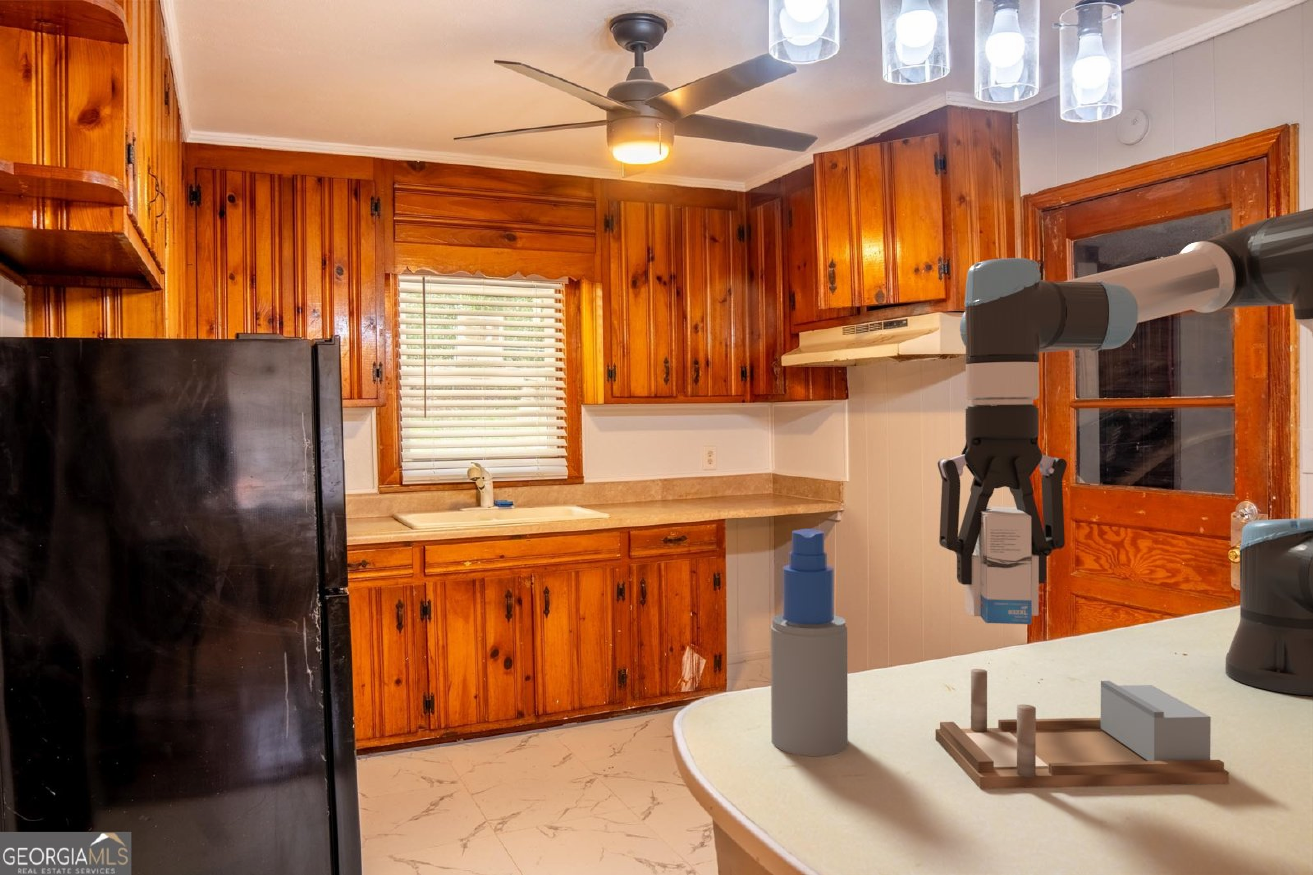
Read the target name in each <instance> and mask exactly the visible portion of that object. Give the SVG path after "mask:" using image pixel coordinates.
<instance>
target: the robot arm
mask: <svg viewBox="0 0 1313 875" xmlns="http://www.w3.org/2000/svg"><path fill="white" fill-rule="evenodd" d="M1284 305H1285V306H1287V305H1292V306H1293V314H1294V322H1296V323H1297V324H1300V325H1301V326H1303V327H1304V328H1306V329H1307V330H1309V331H1310V332H1311V333H1312V334H1311V335H1312V337H1313V208H1309V209H1303V210H1300V211H1295V212H1291V213H1287V214H1283V215H1278V216H1272V217H1269V218H1264V219H1262V220H1258V221H1256V222H1254V223H1253V222H1252V223H1250V224H1247V225H1244V226H1241V227H1240V228H1237V229H1234V230H1232V231H1229V232H1226V233H1223V234H1220V235H1216V236H1214V237H1211V238H1208V239H1205V240H1200V241H1196V242H1193V243H1190V244H1188V245H1186V246H1185V247H1184V248H1183V249H1182V250H1181V251H1180V252H1179V253H1177V254H1174V255H1170V256H1165V257H1161V258H1158V259H1151V260H1148V261H1144V262H1140V263H1137V264H1136V263H1135V264H1132V265H1128V266H1122V267H1118V268H1114V269H1111V270H1106V271H1101V272H1098V273H1094V274H1089V275H1085V276H1081V277H1077V278H1072V279H1068V280H1064V281H1050V280H1043V279H1042V276H1041V274H1040V266H1039V263H1038V262H1037V261H1036V260H1034V259H1028V258H1024V257H1010V258H1009V257H1006V258H1005V257H1004V258H994V259H988V260H983V261H978V262H976V263H975V264H973V265H971V267H969V269H968V271H967V275H966V282H965V298H964V303H963V306H964V312H963V314H962V317H961V319H960V323H959V332H960V338H961V341H962V342H963V343H962V344H963V345H964V346H965V398H966V399H967V400H968V401H971V405H967V408H965V445H964V447H963V449H962V451H961V455H957V456H954V457H951V458H947V459H946V458H941V459H939V460H938V462H937V468H938V470H939V474H940V478H941V497H940V517H939V518H940V520H939V538H938V539H939V545H940V546H941V547H942V548H944V549H947V550H948V551H951V552H954V553H955V554H956V579H957V582H958V583H959V584H961V585H964V611H965V613H967V614H969V615H971V616H972V617H981V557H980V556H978V555H975V554H974V550H975V546H976V543H977V539H978V536H979V533H980V529H981V516H982V513H981V511H986V509H987V506H988V505H989V501H990V498H991V497H992V496H993V494H994V491H995V489H1000V488H1008V489H1009V492H1010V493H1011V495H1012V496H1013V500H1014V503H1015V507H1017V510H1021V511H1023V512H1025V513H1026V514H1028V515H1030V516H1031V594H1032V616H1035V617H1036V616H1039V607H1040V606H1039V602H1040V601H1039V598H1040V596H1039V592H1040V590H1039V589H1040V587H1039V585H1040V584H1045V583H1046V581H1047V557H1049V556H1050V555H1051V554H1052V552H1053V551H1055V550H1057V549H1058V550H1061V549H1063V548H1064V547H1065V544H1066V538H1065V536H1066V535H1065V518H1064V517H1065V516H1064V515H1065V514H1064V490H1063V479H1064V476H1065V473H1066V470H1067V466H1068V462H1067V460H1066V459H1064V458H1061V457H1060V458H1058V457H1051V456H1049V455H1045V454H1043V452H1042V450H1041V449H1040V446H1039V440H1038V439H1039V436H1040V435H1039V434H1040V433H1039V432H1040V428H1039V427H1040V422H1039V421H1040V419H1039V418H1040V413H1039V412H1040V407H1039V408H1038V405H1036V404H1034V400H1037V399H1038V398H1039V397H1040V365H1039V364H1040V363H1039V362H1040V354H1041V353H1053V352H1064V351H1082V350H1083V351H1084V350H1090V351H1092V352H1094V351H1095V352H1096V351H1101V350H1113V349H1116V348H1120V347H1122V346H1123V345H1125V344H1126V343H1127V342H1128V341H1129V340H1130V339H1131V338H1132V336H1133V334H1134V333H1135V331H1136V328H1137V325H1138V324H1139V323H1143V322H1147V321H1150V320H1151V321H1152V320H1155V319H1157V318H1158V319H1159V318H1162V317H1167V316H1171V315H1175V314H1179V313H1182V312H1186V311H1191V310H1192V311H1194V312H1198V313H1202V314H1203V313H1204V314H1206V313H1207V314H1208V313H1212V312H1213V313H1214V312H1217V311H1222V310H1226V309H1227V310H1228V309H1237V308H1248V307H1249V308H1252V307H1272V306H1284ZM1038 466H1039V472H1040V474H1041V497H1042V498H1041V499H1042V500H1041V501H1042V503H1041V504H1042V521H1041V518H1040V515H1039V511H1038V508H1037V505H1036V501H1035V498H1034V487H1033V485H1032V481H1031V475H1032V474H1033V473H1034V472H1035V470H1036V468H1037V467H1038ZM964 467H966V468H967V469H968V471H969V472H970V474H971V475H972V476H973V478H972V482H971V487H970V494H969V495H970V496H969V499H968V502H967V505H966V508H965V513H964V516H963V518H962V519H963V520H962V523H961V526H960V525H959V524H960V522H959V521H960V503H961V502H960V501H961V476H963V473H964ZM1042 522H1043V525H1042ZM959 526H960V529H959ZM1239 580H1240V581H1239V584H1240V585H1239V586H1240V587H1239V589H1240V590H1239V592H1240V593H1239V595H1240V596H1239V600H1240V604H1239V605H1240V608H1239V609H1240V610H1239V611H1240V612H1239V615H1240V617H1239V618H1240V619H1239V623H1238V626H1237V628H1236V631H1235V633H1234V636H1233V639H1232V641H1231V644H1230V646H1229V649H1228V652H1227V653H1226V656H1225V668H1224V669H1225V673H1226V675H1227V676H1229V678H1231V679H1233V680H1235V681H1237V682H1240V683H1243V684H1245V685H1248V686H1252V687H1254V688H1255V687H1256V688H1260V689H1263V690H1264V689H1265V690H1269V691H1272V692H1279V693H1284V694H1285V693H1286V694H1293V695H1300V696H1301V695H1302V696H1312V697H1313V517H1312V518H1311V517H1308V518H1306V517H1305V518H1281V519H1279V518H1278V519H1273V518H1272V519H1260V520H1259V519H1257V520H1252V521H1249V522H1247V523H1245V525H1244V526H1243V527H1242V530H1241V541H1240V545H1239Z"/></svg>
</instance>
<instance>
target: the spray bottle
mask: <svg viewBox="0 0 1313 875" xmlns="http://www.w3.org/2000/svg"><path fill="white" fill-rule="evenodd" d="M788 554H789V564H787V565H784V566H783V567H782V613H780V614H776V615H775V616H773V617H772V624H771V625H770V662H771V663H770V678H771V679H770V681H771V682H770V691H771V692H770V696H771V698H770V702H771V703H770V706H771V707H770V708H771V710H770V711H771V712H770V713H771V714H770V716H771V720H770V721H771V743H772V744H773V746H774V747H776V748H777V749H779V750H780V751H783V752H785V753H790V754H793V755H798V756H799V755H800V756H806V757H807V756H809V757H823V756H830V755H835V754H839V753H841V752H843V751H845V750H846V749H847V747H849V745H848V744H849V743H848V738H849V737H848V735H849V734H848V731H849V730H848V729H849V728H848V726H849V725H848V724H849V723H848V722H849V721H848V720H849V719H848V718H849V717H848V716H849V715H848V714H849V713H848V712H849V711H848V710H849V709H848V706H849V705H848V703H849V702H848V701H849V700H848V693H849V692H848V627H847V626H846V619H845V618H843V617H842V616H839V615H836V614H835V610H834V609H835V607H834V606H835V605H834V604H835V600H834V599H835V598H834V597H835V593H834V592H835V591H834V590H835V583H834V582H835V578H834V577H835V573H834V571H835V569H834V567H833V566H831V565H830V566H829V565H828V556H827V554H828V553H827V552H826V551H825V531H823V530H819V529H815V528H801V529H796V530H792V532H791V551H789V553H788Z"/></svg>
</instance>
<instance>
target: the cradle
mask: <svg viewBox="0 0 1313 875" xmlns="http://www.w3.org/2000/svg"><path fill="white" fill-rule="evenodd" d="M1036 713H1037V709H1036V707H1035V706H1034V705H1031V704H1025V703H1023V704H1017V706H1016V718H1015V719H1014V718H1013V719H1010V718H1009V719H1007V718H1006V719H998V721H997V723H998V726H997V727H988V670H986V669H982V668H973V669H971V670H970V728H961V727H960V726H958V725H957V723H956V722H954V721H940V722H939V728H936V729H935V740H936V742H937V743H938V744H940V746H941V747H942V748H943V749H944V750H945V751H946V753H948V755H949V756H950V757H951V758H952V759H953V760H954V762H955V763H956V764H957V765H958V766H960V768H961V769H962V770H963V771H964V772H965V773H966V775H968V777H969V778H970V779H971V780H972V781H973V782H974V783H975V785H977V787H978V788H979V789H1016V788H1017V789H1018V788H1019V789H1021V788H1026V789H1027V788H1061V787H1062V788H1065V787H1067V788H1069V787H1070V788H1071V787H1073V788H1075V787H1078V788H1079V787H1111V786H1112V787H1117V786H1120V787H1121V786H1125V787H1126V786H1170V785H1172V786H1173V785H1175V786H1176V785H1217V784H1218V785H1219V784H1221V785H1222V784H1224V785H1225V784H1226V785H1227V784H1230V783H1229V782H1230V780H1229V778H1230V777H1229V776H1230V774H1229V773H1230V772H1229V771H1228V770H1227V769H1225V762H1224V761H1222V760H1221V759H1210V760H1176V761H1148V760H1146V759H1145V758H1143V757H1142V756H1140V755H1139V754H1137V753H1136V752H1135V751H1133V750H1132V749H1130V748H1129V747H1127V746H1126V745H1124V744H1123V743H1121V742H1120V741H1119V740H1117V739H1116V738H1114V737H1113V736H1111V735H1110V734H1108V733H1107V732H1105V731H1104V730H1103V729H1101V717H1077V718H1075V717H1073V718H1071V717H1069V718H1068V717H1067V718H1063V717H1062V718H1036V717H1037V716H1036V715H1037V714H1036Z"/></svg>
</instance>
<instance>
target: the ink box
mask: <svg viewBox="0 0 1313 875" xmlns="http://www.w3.org/2000/svg"><path fill="white" fill-rule="evenodd" d="M981 513H982V516H981V529H980V533H979V536H978V539H977V543H976V546H975V550H974V553H973V554H975V555H978V556H980V557H981V616H980V617H981V619H982V620H983V622H985V624H999V625H1000V624H1003V625H1004V624H1005V625H1006V624H1007V625H1010V624H1011V625H1032V620H1033V619H1032V594H1031V516H1030V515H1028V514H1026V513H1025V512H1023V511H1021V510H1017V507H1016V506H990V505H989V506H988V505H987V509H986V511H981Z"/></svg>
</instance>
